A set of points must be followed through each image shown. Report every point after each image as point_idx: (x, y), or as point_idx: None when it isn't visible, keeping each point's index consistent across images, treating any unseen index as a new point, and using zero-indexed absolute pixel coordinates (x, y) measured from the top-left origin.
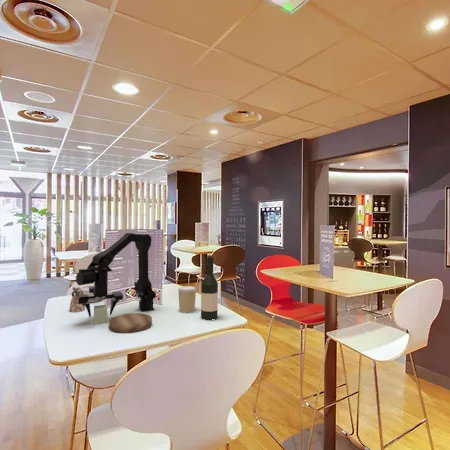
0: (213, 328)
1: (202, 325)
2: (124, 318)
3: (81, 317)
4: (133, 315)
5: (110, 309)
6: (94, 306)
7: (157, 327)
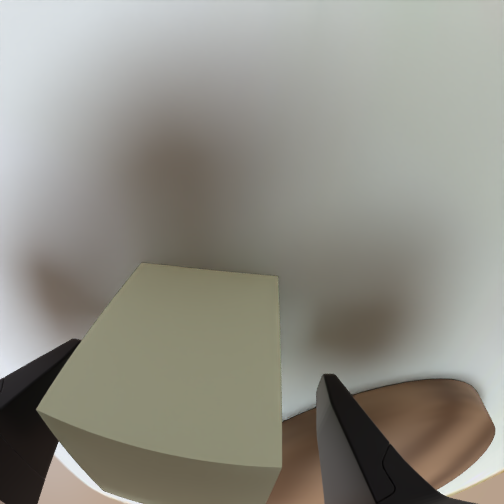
0: (489, 474)
1: (501, 461)
2: None
3: (45, 47)
4: (437, 455)
5: (332, 445)
6: (56, 436)
7: None
